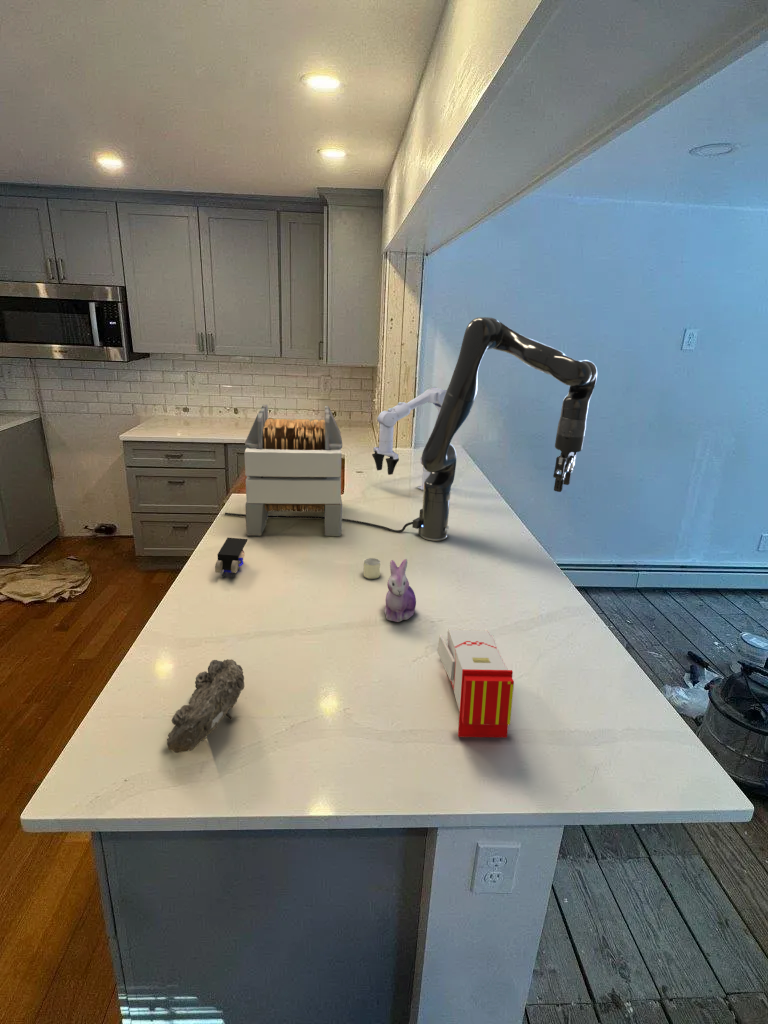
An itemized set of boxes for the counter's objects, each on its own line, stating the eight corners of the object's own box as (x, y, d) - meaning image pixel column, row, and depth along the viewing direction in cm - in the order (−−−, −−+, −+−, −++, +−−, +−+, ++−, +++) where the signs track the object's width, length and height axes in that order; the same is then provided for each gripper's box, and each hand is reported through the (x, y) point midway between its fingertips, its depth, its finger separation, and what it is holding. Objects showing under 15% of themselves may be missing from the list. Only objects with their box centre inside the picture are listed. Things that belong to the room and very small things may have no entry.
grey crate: (255, 503, 223) (251, 399, 209) (338, 504, 226) (340, 401, 213) (245, 536, 191) (239, 416, 177) (342, 536, 195) (344, 418, 181)
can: (360, 576, 167) (360, 562, 166) (368, 570, 171) (368, 556, 170) (374, 580, 165) (375, 566, 164) (382, 574, 169) (382, 560, 167)
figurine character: (238, 584, 162) (249, 557, 175) (236, 562, 158) (247, 536, 172) (215, 584, 161) (227, 556, 175) (212, 561, 158) (225, 535, 171)
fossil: (192, 660, 117) (244, 628, 112) (224, 691, 120) (276, 661, 115) (142, 746, 98) (202, 712, 93) (182, 779, 101) (242, 748, 96)
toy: (488, 613, 130) (523, 677, 101) (484, 667, 133) (517, 744, 104) (435, 612, 130) (455, 676, 101) (432, 666, 133) (451, 743, 103)
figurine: (392, 627, 141) (395, 572, 136) (374, 608, 149) (376, 556, 144) (425, 619, 145) (429, 566, 140) (405, 601, 154) (408, 550, 149)
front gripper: (563, 427, 168) (555, 479, 173) (550, 435, 156) (541, 491, 162) (589, 431, 164) (580, 484, 170) (578, 439, 153) (568, 496, 158)
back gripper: (367, 438, 237) (367, 469, 242) (389, 445, 227) (388, 477, 231) (381, 436, 241) (380, 467, 246) (402, 443, 231) (401, 475, 235)
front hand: (561, 487), depth 166 cm, fingers open, 8 cm apart
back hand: (384, 472), depth 239 cm, fingers open, 7 cm apart
